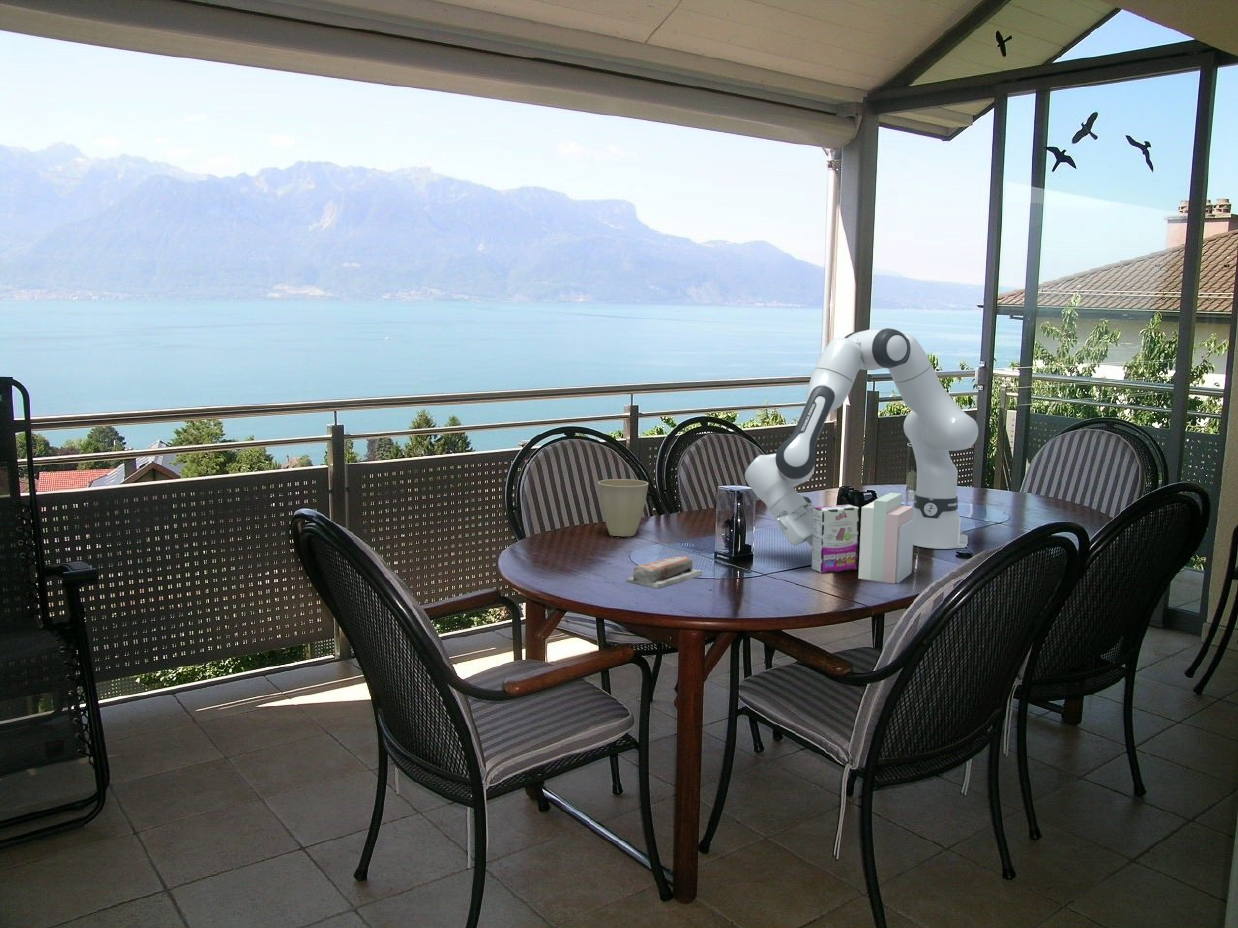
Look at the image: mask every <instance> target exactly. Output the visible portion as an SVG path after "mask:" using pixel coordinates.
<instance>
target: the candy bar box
mask: <svg viewBox="0 0 1238 928" xmlns="http://www.w3.org/2000/svg"><path fill="white" fill-rule="evenodd" d="M859 516H860V507H859V506H855V505H852V504H842V505H841V504H840V505H839V504H838V505H827V506H826V505H825V506H816V507H815V506H814V508H813V536H812V546H811V570H813V571H814V572H817V573H820V574H827V573H828V574H829V573H836V572H844V571H845V572H846V571H854V570H858V550H859V548H858V547H859V521H860V520H859Z"/></svg>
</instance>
